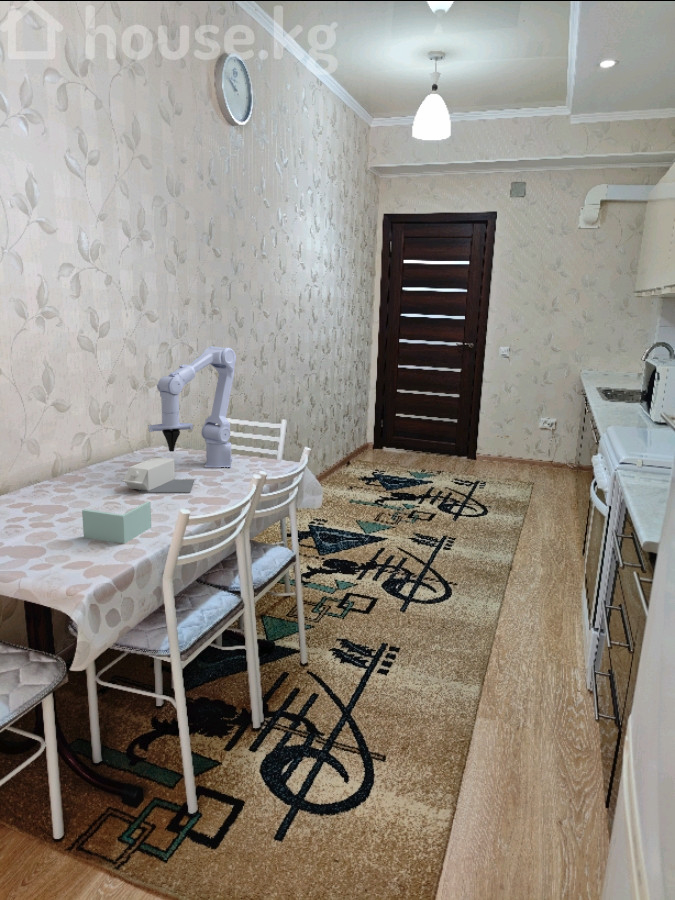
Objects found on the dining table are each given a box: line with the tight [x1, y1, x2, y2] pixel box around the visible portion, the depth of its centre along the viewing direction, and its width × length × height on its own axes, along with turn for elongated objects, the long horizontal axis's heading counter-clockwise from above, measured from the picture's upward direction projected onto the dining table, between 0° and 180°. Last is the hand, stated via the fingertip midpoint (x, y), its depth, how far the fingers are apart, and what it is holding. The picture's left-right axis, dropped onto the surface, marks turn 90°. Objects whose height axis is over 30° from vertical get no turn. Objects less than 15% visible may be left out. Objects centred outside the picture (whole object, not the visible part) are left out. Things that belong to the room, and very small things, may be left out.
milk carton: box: [121, 456, 176, 491], centre depth 194 cm, size 7×7×19 cm
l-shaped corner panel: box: [81, 501, 152, 545], centre depth 155 cm, size 12×12×8 cm
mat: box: [137, 478, 195, 494], centre depth 195 cm, size 16×14×1 cm
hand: (171, 450), depth 204 cm, fingers closed
